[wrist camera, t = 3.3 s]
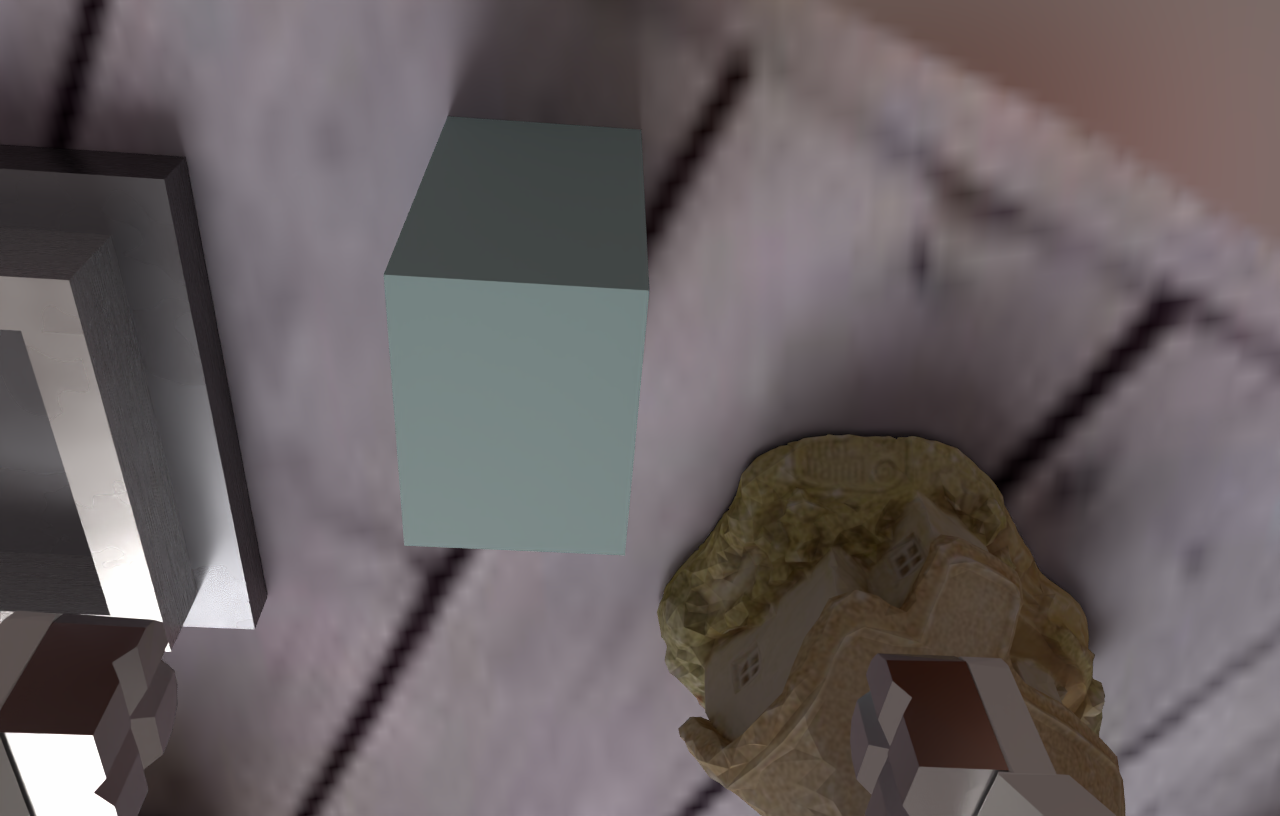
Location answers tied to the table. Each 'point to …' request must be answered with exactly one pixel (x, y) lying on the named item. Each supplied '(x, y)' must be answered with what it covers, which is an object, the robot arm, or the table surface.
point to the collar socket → (115, 400)
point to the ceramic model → (865, 617)
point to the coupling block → (520, 337)
